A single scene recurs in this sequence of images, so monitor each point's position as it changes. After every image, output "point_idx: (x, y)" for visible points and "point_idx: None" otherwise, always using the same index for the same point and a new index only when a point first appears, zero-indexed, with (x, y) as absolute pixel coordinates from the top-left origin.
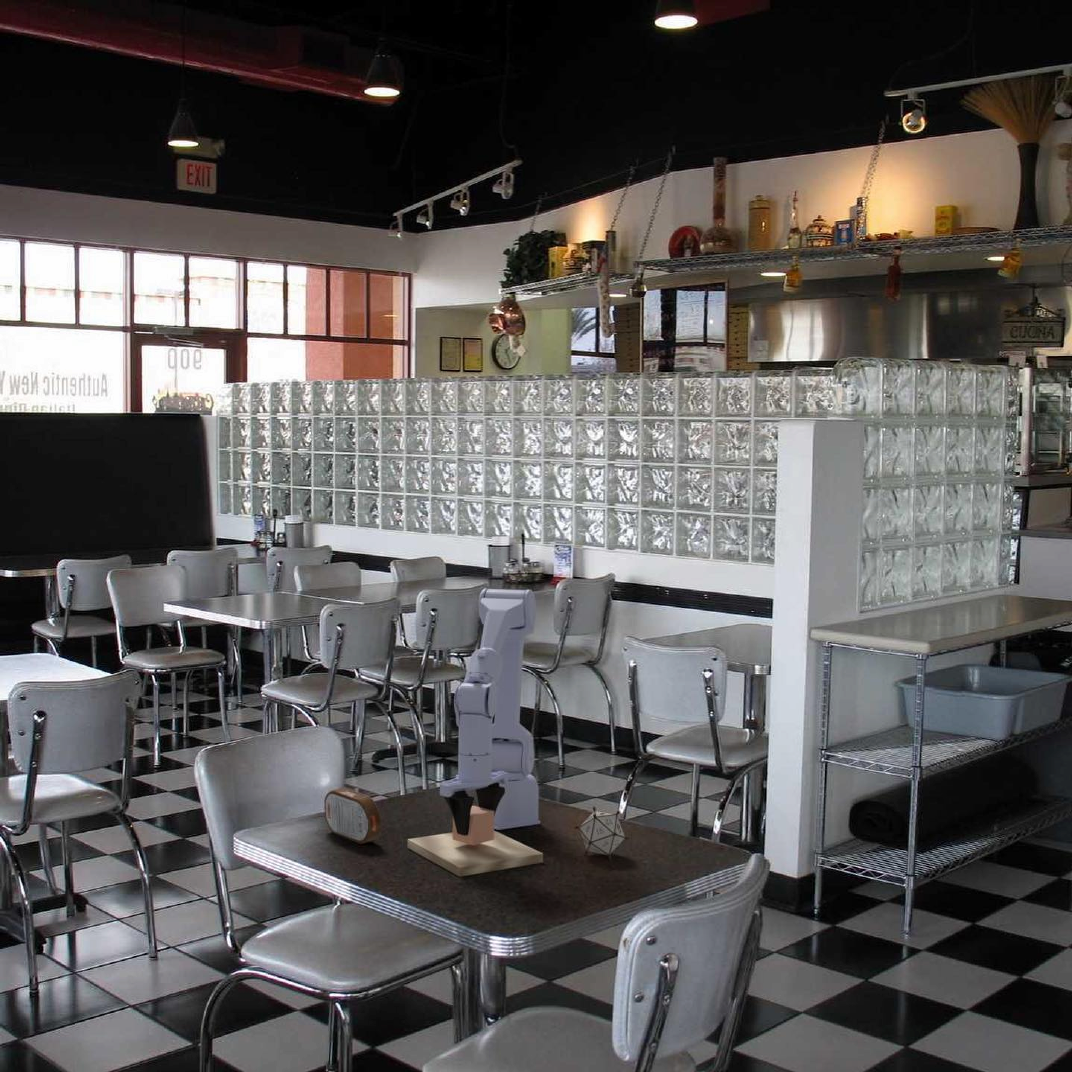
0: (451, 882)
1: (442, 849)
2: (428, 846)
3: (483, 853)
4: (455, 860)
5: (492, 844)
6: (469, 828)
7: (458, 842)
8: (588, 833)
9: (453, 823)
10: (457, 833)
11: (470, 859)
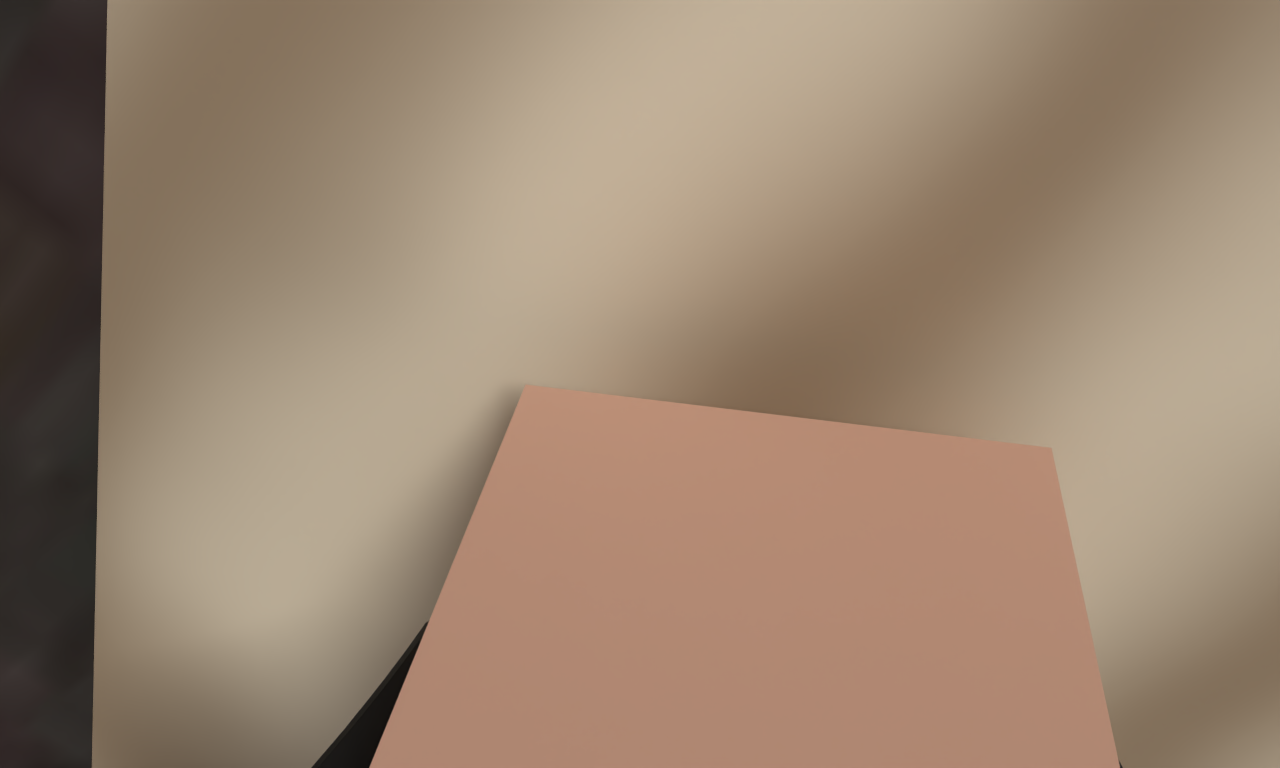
0: (2, 728)
1: (314, 322)
2: (224, 50)
3: None
4: (180, 667)
5: None
6: None
7: (764, 280)
8: None
9: (446, 605)
10: (422, 631)
11: None
